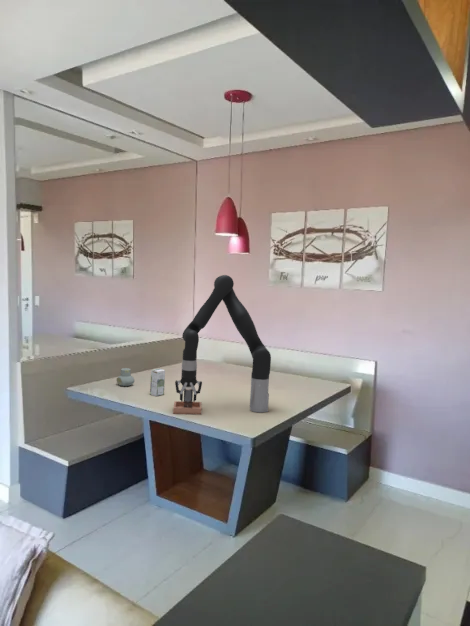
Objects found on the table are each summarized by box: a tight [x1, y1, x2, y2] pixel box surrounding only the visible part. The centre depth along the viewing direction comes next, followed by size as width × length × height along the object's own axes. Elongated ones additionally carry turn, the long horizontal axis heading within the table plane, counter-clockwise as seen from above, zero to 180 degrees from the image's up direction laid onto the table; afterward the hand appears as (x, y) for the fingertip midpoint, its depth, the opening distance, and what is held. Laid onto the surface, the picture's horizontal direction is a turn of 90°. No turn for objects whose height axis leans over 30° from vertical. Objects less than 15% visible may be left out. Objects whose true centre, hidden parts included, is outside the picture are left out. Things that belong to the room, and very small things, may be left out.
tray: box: [172, 400, 203, 415], centre depth 238 cm, size 14×12×3 cm
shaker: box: [183, 386, 194, 408], centre depth 238 cm, size 5×5×12 cm
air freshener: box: [116, 367, 135, 387], centre depth 284 cm, size 11×8×10 cm
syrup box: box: [149, 368, 166, 397], centre depth 265 cm, size 6×6×14 cm
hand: (187, 401), depth 238 cm, fingers open, 5 cm apart
